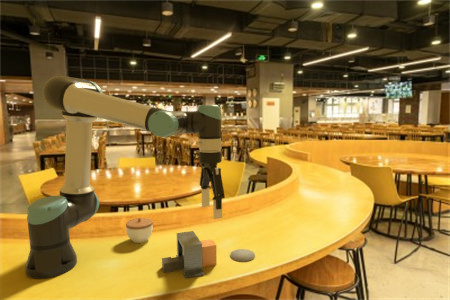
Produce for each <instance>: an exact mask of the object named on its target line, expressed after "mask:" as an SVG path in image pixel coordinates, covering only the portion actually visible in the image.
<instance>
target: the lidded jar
mask: <svg viewBox="0 0 450 300" xmlns="http://www.w3.org/2000/svg"><path fill="white" fill-rule="evenodd" d="M153 225H154V221H153V219H151V218H149V217H138V218H136V217H135V218H131V219H129V220H128V221H126V222H125V227H126V229H125V230H126V234H127V237H128V239H130V240H131V241H132V243H133V244H134V243H135V244H143V243H146V242H148V240H149V239H150V237H151V236H152V233H153V228H154V227H153Z"/></svg>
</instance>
